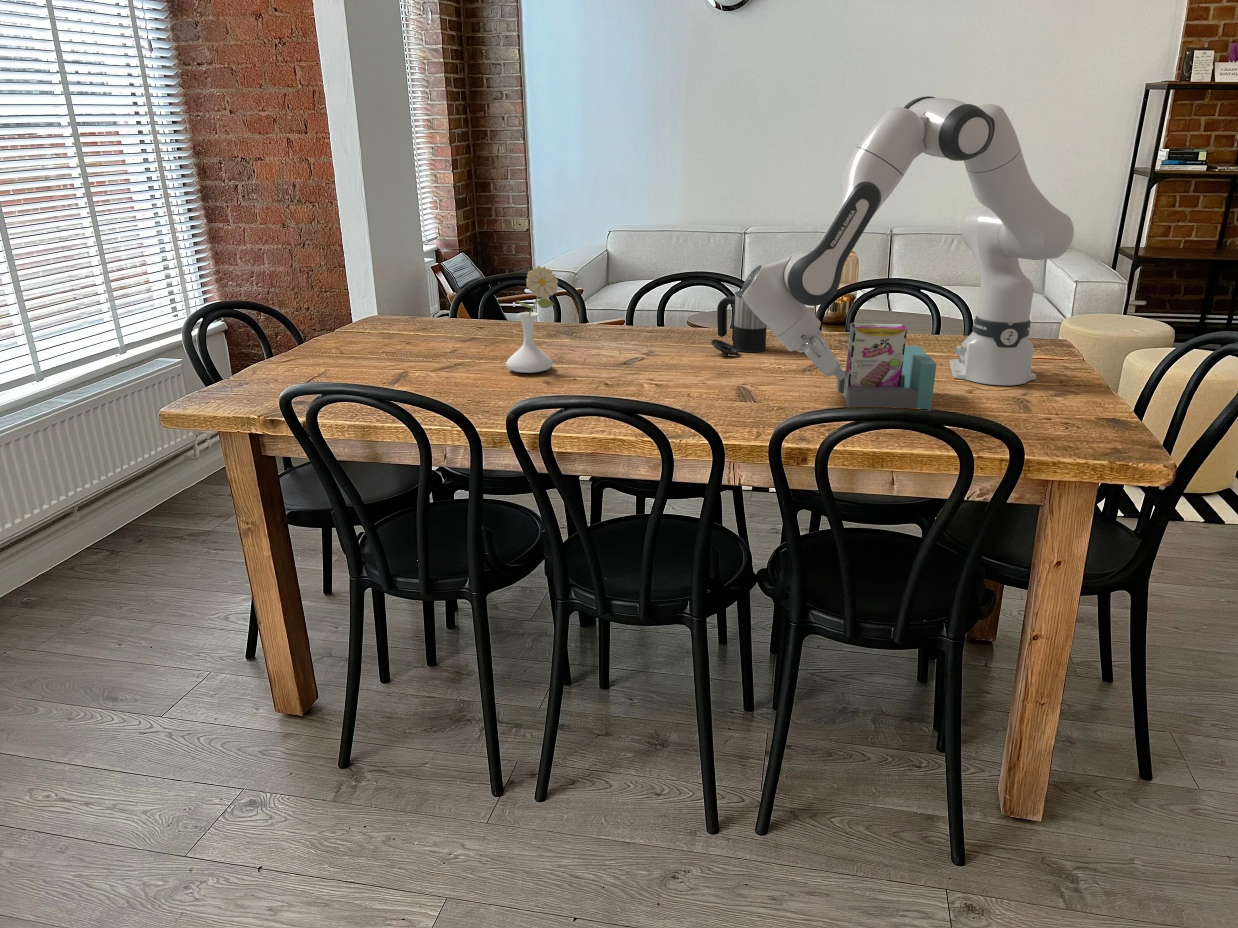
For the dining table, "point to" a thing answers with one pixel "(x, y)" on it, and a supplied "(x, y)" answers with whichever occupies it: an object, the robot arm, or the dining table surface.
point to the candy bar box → (875, 355)
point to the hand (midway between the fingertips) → (842, 376)
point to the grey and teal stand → (912, 387)
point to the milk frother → (740, 327)
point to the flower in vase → (529, 354)
